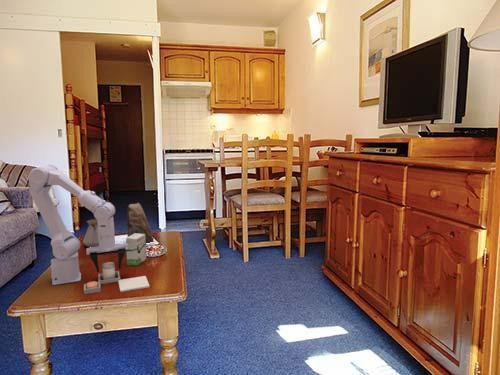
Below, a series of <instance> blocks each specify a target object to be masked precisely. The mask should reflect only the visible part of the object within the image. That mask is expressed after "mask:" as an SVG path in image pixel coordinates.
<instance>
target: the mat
mask: <svg viewBox="0 0 500 375" xmlns="http://www.w3.org/2000/svg"><path fill="white" fill-rule="evenodd" d="M117 283H118V287H119V292H120V293H123V292H129V291H135V290H136V291H137V290H140V289H141V290H142V289H146V288H150V284H149V281H148V278H147V276H146V275H142V276H136V277H130V278H123V279H120V280H118V282H117Z"/></svg>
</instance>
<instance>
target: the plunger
mask: <svg viewBox="0 0 500 375" xmlns="http://www.w3.org/2000/svg"><path fill="white" fill-rule="evenodd" d="M98 282H99V281H95V280H93V281H88V282H87V283H86V284H87V289H89V288H95V287H98Z"/></svg>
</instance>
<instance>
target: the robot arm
mask: <svg viewBox="0 0 500 375" xmlns="http://www.w3.org/2000/svg"><path fill="white" fill-rule="evenodd" d="M27 179H28V182H29V193H30V196H31V198H32V200H33V203H34V204H35V205H36V208H37V210H38V212H39V214H40V216H41V218H42V220H43V221H44V223H45V225H46V227H47V229H48V231H49V233H50V235H51V237H52V238H51V241H50V245H51V247H52V254H53V256H54V257H55V258H52V259H50V269H51V270H50V271H51V282H52V284H51V285H52V286H56V285H62V284H69V283H76V282H81V280H82V273H81V272H80V264H79V263H80V262H79V252H78V251H79V250H80V249H81V242H80V240H79V239H78V238H77V237H76V236H75V234H74V233H73V232H72V231H70V230H68V229H67V226H66V225H65V223H64V221H63V219H62V217H61V215H60V213H59V211H58V209H57V207H56V206H55V203H54V201H53V200H52V197H51V195H50V193H49V192H50V190H51V188H52V186H59V187H61V188H62V189H64V190H65V191H67V192H68V193H70V194H72V195H74V196H75V197H76V198H77V201H78V203H79V204H80V205H82V206H83V207H85V209H87V210H89V211H90V212H92V213H93V216H94V219H97V223H98V238H99V246H96V247H91V248H89V247H87V248H86V256H87V255H89V257H90V259H91V260H92V262H93V264H94V266H95V269H96V273H100V267H99V261H98V253H106V252H113V251H117V266H118V267H117V268H118V270H121V267H122V263H123V258H124V257H125V255H126V254H125V253H126V251H127V249H128V244H127V243H126V242H125V243H116V237H115V234H116V232H115V222H114V215H115V214H116V207H115V205H113V203H112V202H109V201H106V200H105V199H102V198H100V197H99V196H98V195H97V194H96V192H95V191H93V190H84V189H83V188H82V187H81V186H79V184H77V183H75V181H74V180H72V179H71V178H70V177H69V176H67V175H66V174H65V173H64V172H63V170H61V169H60V168H59V169H58V167H57V166H55V165H52V164H50V165H49V164H48V165H45V166H39V167H38V166H37V167H34V168H32V169H31V170H30V172H29V174H28V176H27Z"/></svg>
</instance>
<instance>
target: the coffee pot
mask: <svg viewBox="0 0 500 375" xmlns="http://www.w3.org/2000/svg"><path fill="white" fill-rule="evenodd" d="M86 223H87V224H88V226H87V229H86V232H85V234H84V238H83V240H82V242H83V245H85V246H86V247H87V248H90V247H96V246H99V238H98V223H97V219H96V218H94V219H93V218H92V219H89V220H87V221H86Z"/></svg>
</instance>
